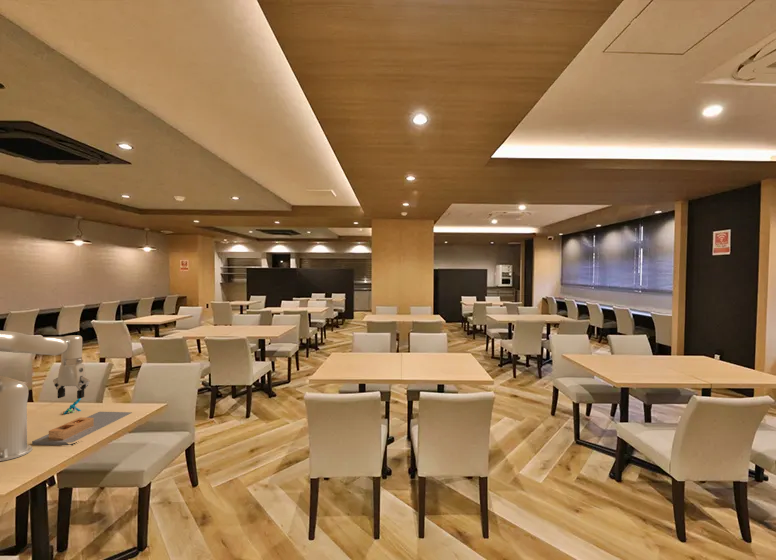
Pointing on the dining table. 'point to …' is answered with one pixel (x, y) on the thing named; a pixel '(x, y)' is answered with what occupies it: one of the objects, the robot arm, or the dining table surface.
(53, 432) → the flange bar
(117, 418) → the board
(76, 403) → the blue branched piece
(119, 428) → the dining table surface
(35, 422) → the dining table surface
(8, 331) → the robot arm
